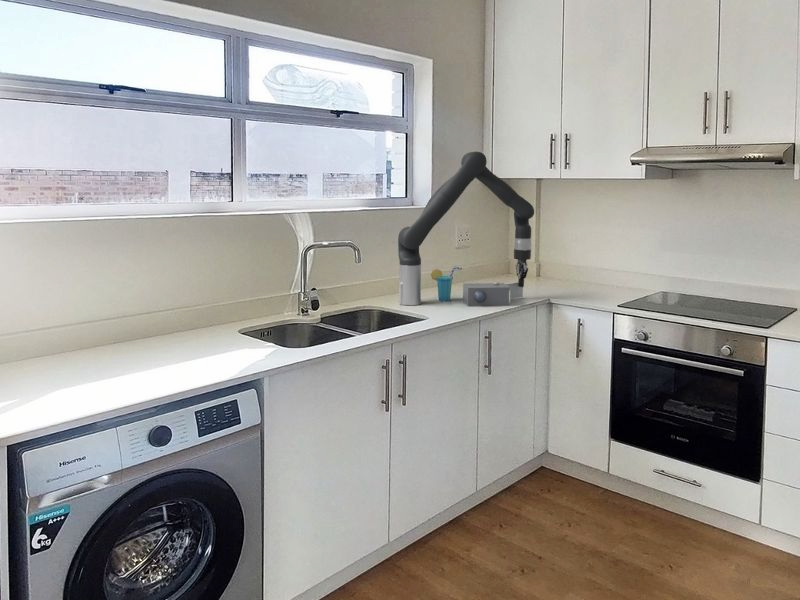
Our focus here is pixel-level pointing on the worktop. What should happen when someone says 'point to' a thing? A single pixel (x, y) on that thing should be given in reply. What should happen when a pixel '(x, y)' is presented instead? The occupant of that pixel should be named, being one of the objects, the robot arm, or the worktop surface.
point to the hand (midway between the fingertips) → (520, 286)
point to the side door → (515, 290)
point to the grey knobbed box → (486, 294)
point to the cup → (443, 284)
